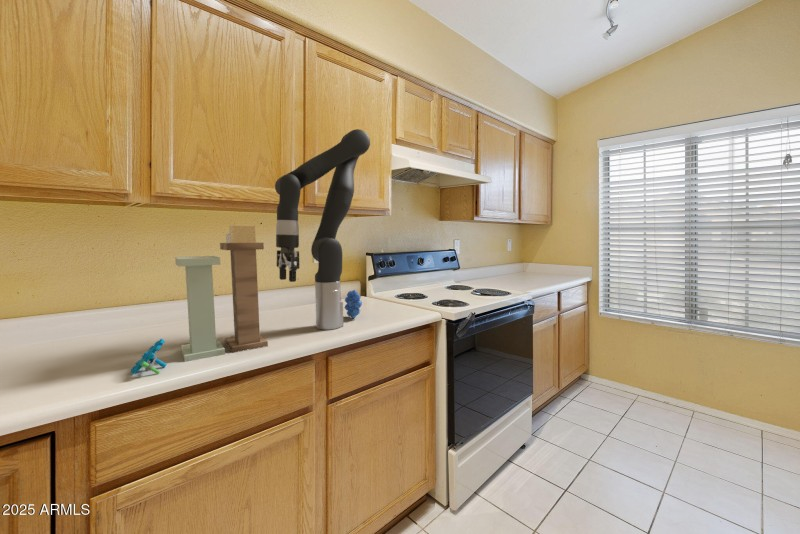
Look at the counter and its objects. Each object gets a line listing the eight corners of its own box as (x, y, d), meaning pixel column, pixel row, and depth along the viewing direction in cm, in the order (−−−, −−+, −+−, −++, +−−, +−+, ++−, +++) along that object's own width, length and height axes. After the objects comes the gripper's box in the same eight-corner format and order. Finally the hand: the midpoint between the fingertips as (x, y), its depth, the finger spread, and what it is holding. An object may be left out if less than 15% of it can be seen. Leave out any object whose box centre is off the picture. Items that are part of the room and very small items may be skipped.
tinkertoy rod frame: (134, 359, 92) (163, 331, 93) (154, 371, 95) (183, 343, 96) (121, 380, 82) (154, 348, 84) (144, 393, 85) (176, 362, 86)
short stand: (181, 350, 104) (175, 257, 102) (218, 343, 110) (213, 255, 108) (184, 361, 95) (178, 259, 92) (225, 354, 101) (220, 257, 98)
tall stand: (225, 342, 112) (219, 242, 109) (257, 337, 117) (253, 242, 115) (232, 352, 102) (227, 243, 99) (267, 346, 108) (263, 242, 105)
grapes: (369, 319, 142) (369, 290, 141) (355, 321, 138) (354, 291, 137) (355, 314, 152) (354, 286, 150) (341, 316, 147) (340, 288, 146)
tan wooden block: (221, 242, 118) (220, 227, 118) (240, 242, 122) (239, 227, 121) (233, 243, 101) (233, 225, 101) (255, 242, 105) (254, 226, 104)
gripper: (306, 234, 117) (306, 281, 118) (289, 234, 128) (289, 278, 129) (285, 233, 112) (285, 283, 113) (269, 233, 123) (269, 279, 124)
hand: (287, 280), depth 121 cm, fingers open, 8 cm apart
